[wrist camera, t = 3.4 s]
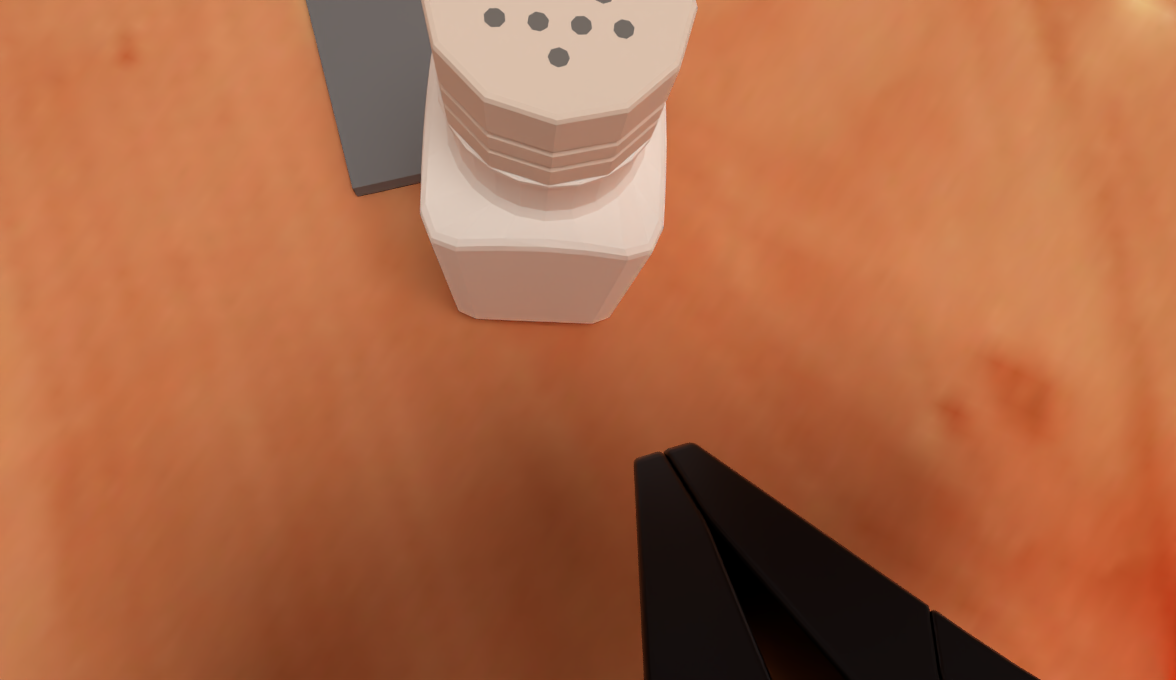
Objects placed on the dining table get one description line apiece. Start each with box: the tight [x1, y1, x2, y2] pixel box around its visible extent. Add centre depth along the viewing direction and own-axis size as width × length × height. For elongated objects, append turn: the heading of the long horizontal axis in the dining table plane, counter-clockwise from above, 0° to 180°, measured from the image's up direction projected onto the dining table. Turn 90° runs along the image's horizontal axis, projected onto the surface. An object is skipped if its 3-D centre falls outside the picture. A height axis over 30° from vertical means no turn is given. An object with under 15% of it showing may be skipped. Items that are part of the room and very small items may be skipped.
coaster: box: [306, 0, 432, 196], centre depth 17 cm, size 7×8×1 cm
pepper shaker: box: [420, 0, 698, 324], centre depth 12 cm, size 4×4×10 cm
